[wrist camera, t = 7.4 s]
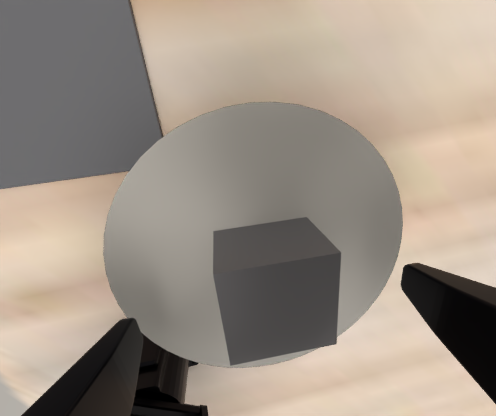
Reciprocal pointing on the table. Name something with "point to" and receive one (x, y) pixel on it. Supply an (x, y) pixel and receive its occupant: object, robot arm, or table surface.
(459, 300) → the robot arm
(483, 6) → the table surface
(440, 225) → the table surface
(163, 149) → the lid
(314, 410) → the table surface
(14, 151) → the charcoal mat
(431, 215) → the table surface
